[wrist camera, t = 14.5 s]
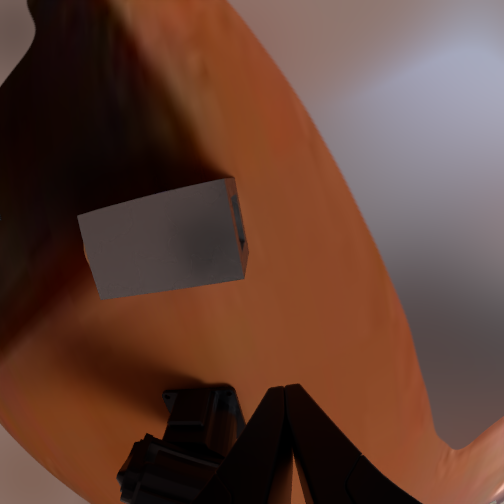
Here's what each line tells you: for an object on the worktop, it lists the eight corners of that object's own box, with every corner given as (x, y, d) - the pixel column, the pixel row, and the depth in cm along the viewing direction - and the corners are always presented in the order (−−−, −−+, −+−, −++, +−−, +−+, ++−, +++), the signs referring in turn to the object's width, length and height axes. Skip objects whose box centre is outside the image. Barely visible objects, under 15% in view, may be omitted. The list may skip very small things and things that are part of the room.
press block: (248, 252, 20) (244, 278, 15) (134, 271, 21) (100, 299, 16) (234, 177, 19) (224, 178, 14) (117, 204, 20) (77, 215, 14)
